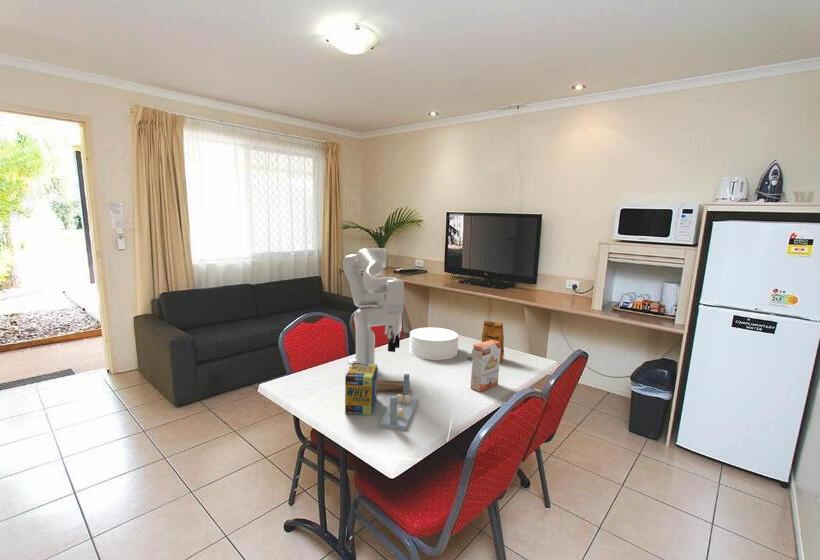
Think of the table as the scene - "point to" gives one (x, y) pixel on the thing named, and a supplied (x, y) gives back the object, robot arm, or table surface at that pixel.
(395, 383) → the board
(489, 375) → the cracker box
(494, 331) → the coffee package
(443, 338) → the plate stack
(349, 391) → the protein box
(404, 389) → the stand
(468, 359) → the house of cards
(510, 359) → the table surface
